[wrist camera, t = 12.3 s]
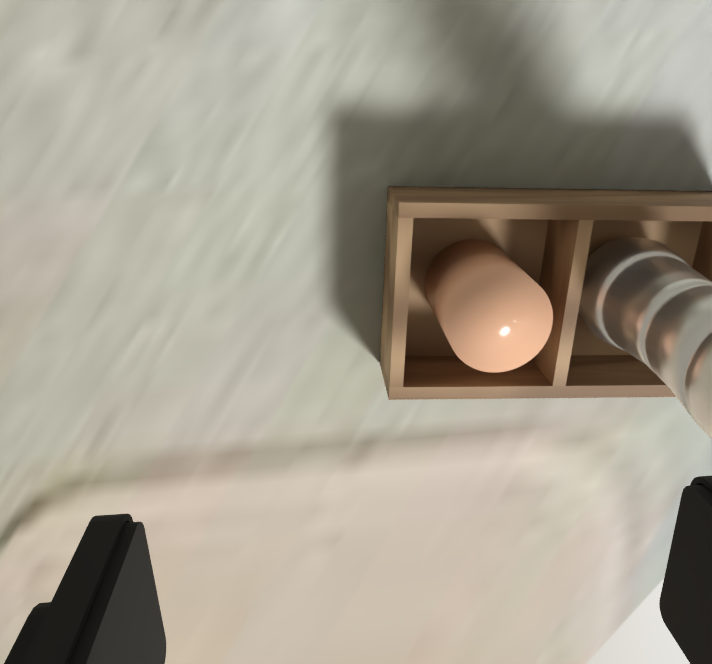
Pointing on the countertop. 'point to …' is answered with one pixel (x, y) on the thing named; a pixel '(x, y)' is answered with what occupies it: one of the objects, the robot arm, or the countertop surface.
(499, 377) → the crate
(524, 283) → the peach colored egg
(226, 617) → the countertop surface
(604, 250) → the grey metal bottle
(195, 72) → the countertop surface
